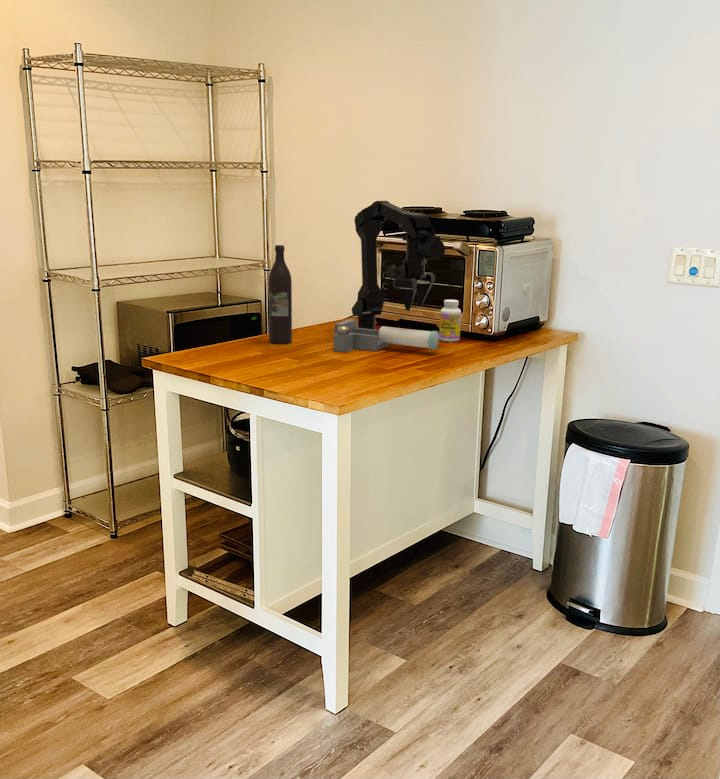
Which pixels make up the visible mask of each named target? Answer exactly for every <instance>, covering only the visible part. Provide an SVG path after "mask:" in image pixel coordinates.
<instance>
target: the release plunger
mask: <svg viewBox="0 0 720 779" xmlns="http://www.w3.org/2000/svg"><path fill="white" fill-rule="evenodd" d="M338 334H339V335H348V334H349V327H348V326H339V327H338Z"/></svg>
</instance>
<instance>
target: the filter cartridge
mask: <svg viewBox="0 0 720 779" xmlns="http://www.w3.org/2000/svg"><path fill="white" fill-rule="evenodd" d="M378 330H379V335H378V337H379V341H380V342H381V343H388V344H389V345H396V346H397V345H398V346H408V347H416V348H426V349H430V350H434V351H436V350H437V348H438V346H439V342H440V339H439V331H438V330H432V331H431V330H422V329H421V330H420V329H411V328H404V327H403V328H401V327H393V326H383V325H382V326H380V328H379V329H378Z"/></svg>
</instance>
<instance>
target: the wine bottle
mask: <svg viewBox="0 0 720 779" xmlns="http://www.w3.org/2000/svg"><path fill="white" fill-rule="evenodd" d="M274 252H275V258H274V259H275V261H274V263H273V266H272V267H271V269H270V271H269V275H268V321H269V322H268V333H269V334H268V336H269V337H268V338H269V339H268V340H269V342H270V343H271V344H274V345H286V344H287V343H288V344H290V343H292V341H293V319H292V318H293V313H292V312H293V310H292V309H293V303H292V300H293V298H292V296H293V295H292V294H293V292H292V291H293V290H292V288H293V284H292V276H291V272H290V269H289V267H288V266H287V264H286V260H285V245H283V244H276V245H275V247H274Z"/></svg>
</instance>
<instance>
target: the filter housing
mask: <svg viewBox="0 0 720 779" xmlns="http://www.w3.org/2000/svg"><path fill="white" fill-rule="evenodd" d="M339 326H348V327H349V334H348V335H339V334H338V327H339ZM379 330H380V329H375V330H374V329H365V328H358V319H353V318H349V319H345V320H343V321H340V322H336V323H334V333H333V351H334V352H339V353H348V352H351V351H354V350H362V351H370V352H377V351H380V350H383V349H384V348H387V347H389V346H390V344H388V343H381V342H380V341H379V337H378V335H379Z"/></svg>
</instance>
